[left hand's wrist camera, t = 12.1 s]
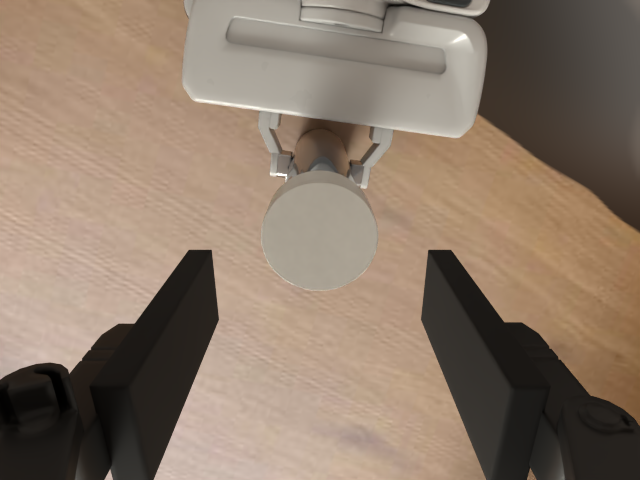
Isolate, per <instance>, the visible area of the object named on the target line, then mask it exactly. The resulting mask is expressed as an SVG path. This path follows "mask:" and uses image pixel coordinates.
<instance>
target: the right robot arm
mask: <svg viewBox="0 0 640 480" xmlns="http://www.w3.org/2000/svg"><path fill="white" fill-rule="evenodd" d="M489 2H490V0H184V9H185V12H186V15H187V17H188V19H189V22H188V27H187V33H186V39H185V47H184V56H183V67H182V85H183V87H184V89H185V90H186V92H187V93H188V95H189V96H190V98H191V99H192V100H193V101H196V102H202V103H209V104H216V105H223V106H230V107H237V108H245V109H252V110H259V123H258V128H259V130H260V132H261V134H262V137H263V139H264V141H265V143H266V145H267V147H268V150H269V152H270V153H272V154H271V165H270V176H274V177H283V178H286V175H287V172H288V169H289V166H290V163H291V160H292V154H293V152H291V151H285V150H282V147H281V145H280V143H279V140H278V138H277V135H276V133H275V131H274V129H277V128H278V127H279V126H280V123H281V114H287V115H294V116H301V117H308V118H316V119H323V120H330V121H337V122H344V123H351V124H358V125H365V126H371V127H370V134H369V138H370V139H371V140H372V142H373V145H372V146H371V147H370V149H369V150H368V151H367V152H366V154H365V155H364V156H363V157H362V159H361V161H359V160H350V166H351V170H352V173H353V176H354V179H355V182H356V185H357V186H358V187H360V188H365V189H366V188H367V186H368V181H369V175H370V170H371V167H373V166H374V165H375V163H376V162H377V161H378V160H379V159H380V158H381V156H382V155H383V154H384V153H385V152H386V151H387V149H388V148H389V147H390V146H391V141H392V136H393V131H394V130H401V131H408V132H415V133H422V134H429V135H436V136H443V137H451V138H460V137H461V136H462V135H464V134H465V133H466V132H467V131H468V130H469V129H470V128H471V127H472V126H473V124H474V122H475V119H476V116H477V112H478V108H479V103H480V99H481V94H482V88H483V82H484V76H485V69H486V61H487V40H486V36H485V33H484V31H483V29H482V27H481V26H480V25H479V24H478V23H477V22H476V21H475V20H473V18H475V17H477V16H479V15H480V14H482V13H483V12H484V11H485V10H486V9H487V7H488V5H489Z"/></svg>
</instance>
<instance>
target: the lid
mask: <svg viewBox="0 0 640 480" xmlns="http://www.w3.org/2000/svg"><path fill="white" fill-rule="evenodd" d="M261 243H262V248H263V252H264V255H265V257H266V259H267V261H268V263H269V265H270V266H271V267H272V269H273V270H274V271H275V272H276V273H277V274H278V275H279V276H280V277H281V278H283V279H284V280H286V281H287V282H289V283H290V284H293V285H295V286H297V287H300V288H303V289H308V290H315V291H326V290H332V289H336V288H340V287H342V286H345V285H347V284H349V283H350V282H352V281H354V280H355V279H356V278H358V277H359V276H360V275H361V274H362V273H363V272H364V271H365V270H366V269H367V268H368V266H369V265H370V263H371V262H372V260H373V257H374V255H375V252H376V249H377V244H378V228H377V223H376V220H375V217H374V214H373V211H372V209H371V206H370V204H369V201H368V199H367V197H366V196H365V194H364V192H363V191H362V190H361V189H360V187H358V186H357V185H356V184H355V183H354V182H353V181H351V180H350V179H349V178H347V177H345V176H343V175H340V174H338V173H335V172H330V171H322V170H320V171H309V172H305V173H302V174H299V175H297V176H294V177H293V178H291V179H289V180H288V181H286V182H285V183H284V184H283V185H282V186H281V187H280V188H279V189H278V190H277V192H276V193H275V194H274V196H273V198H272V200H271V202H270V204H269V207H268V209H267V212H266V215H265V217H264V220H263V223H262V229H261Z"/></svg>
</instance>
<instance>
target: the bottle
mask: <svg viewBox="0 0 640 480" xmlns="http://www.w3.org/2000/svg"><path fill="white" fill-rule="evenodd" d="M320 170H322V171H330V172H335V173H338V174H340V175H343V176H345V177H347V178H349V179H350V180H351V181H353V182H354V183H355V184H356V182H355V179H354V176H353V173H352V170H351V166H350V163H349V160H348V157H347V154H346V151H345V147H344V145H343V142H342V141H341V139H340V138H339V137H338V136H337V135H336V134H335V133H333V132H331V131H329V130H326V129H314V130H311V131H309V132H307V133H305V134H304V135H303V136H302V137H301V138H300V139H299V141H298V143H297V145H296V148H295V151H294V154H293V157H292V160H291V163H290V166H289V169H288V172H287V175H286V178H285V181H284V183H285V182H286V181H288V180H289V179H291V178H293V177H294V176H297V175H299V174H302V173H305V172H309V171H320Z"/></svg>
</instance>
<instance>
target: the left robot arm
mask: <svg viewBox="0 0 640 480" xmlns="http://www.w3.org/2000/svg"><path fill="white" fill-rule="evenodd" d="M218 320H219V316H218V307H217V297H216V288H215V278H214V268H213V259H212V250H189V251H188V252H187V253H186V255H185V256H184V257H183V259H182V260H181V262H180V263H179V264H178V266H177V267H176V268H175V270H174V271H173V272H172V274H171V275H170V276H169V278H168V279H167V281H166V282H165V283H164V285H163V286H162V287H161V289H160V290H159V291H158V293H157V294H156V296H155V297H154V298H153V300H152V301H151V302H150V304H149V305H148V306H147V308H146V309H145V311H144V312H143V313H142V315H141V316H140V317H139V319H138V320H137V321H136V323H135V324H118V325H116V326H114V327H113V328H111V329H110V330H108V331H107V332H105V333H104V334H102V335H101V336H100V338H99V339H98V340H97V341H96V342H95V344H94V345H93V346H92V347H91V350H89V351H88V352H87V353H86V355H85V356H84V357H83V358H82V361H80V362H79V363H78V364H77V365H76V367H75V368H74V369H73V370H72V371H71V373H70V374H69V372H68V369H67V368H65V367H64V366H63V365H61V364H55V363H42V364H35V365H32V366H28V367H25V368H21V369H19V370H17V371H15V372H13V373H11V374H9V375H7V376H5V377H4V378H2V379H1V380H0V480H104V479H105V477H106V476H107V474H108V472H109V470H110V469H111V473H112V477H113V480H154V477H155V475H156V472H157V470H158V468H159V465H160V463H161V460H162V458H163V455H164V453H165V450H166V448H167V445H168V443H169V441H170V438H171V436H172V433H173V431H174V428H175V426H176V423H177V421H178V418H179V416H180V414H181V411H182V409H183V406H184V404H185V401H186V399H187V396H188V394H189V392H190V389H191V387H192V384H193V382H194V379H195V377H196V374H197V372H198V369H199V367H200V365H201V362H202V360H203V357H204V355H205V352H206V350H207V347H208V345H209V343H210V340H211V338H212V335H213V333H214V330H215V328H216V325H217V323H218ZM421 320H422V323H423V325H424V328H425V330H426V333H427V335H428V338H429V340H430V343H431V345H432V347H433V350H434V352H435V355H436V357H437V360H438V362H439V365H440V367H441V369H442V372H443V374H444V377H445V379H446V382H447V384H448V387H449V389H450V392H451V394H452V396H453V399H454V401H455V404H456V406H457V409H458V411H459V414H460V416H461V418H462V421H463V423H464V426H465V428H466V431H467V433H468V436H469V438H470V441H471V443H472V445H473V448H474V450H475V453H476V455H477V458H478V460H479V463H480V465H481V468H482V470H483V472H484V475H485V477H486V480H527V477H528V473H529V469H530V468H531V470H532V472H533V473H534V475H535V477H536V479H537V480H640V426H639V425H638V423H637V422H636V420H635V419H634V418H633V417H632V416H631V415H629V414H628V413H627V412H626V411H625V410H623V409H622V408H620V407H618V406H616V405H614V404H613V403H611V402H609V401H606V400H603V399H600V398H597V397H594V396H590V395H589V393H588V392H587V391H586V390H585V389H584V387H583V386H582V385H581V384H580V383H579V381H578V380H577V379H576V378H575V377H574V375H573V374H572V373H571V372H570V371H569V369H568V368H567V367H566V366H565V365H564V363H563V362H562V361H561V360H558V356H557V355H556V354H555V353H554V352H553V350H552V349H549V346H548V344H547V343H546V342H545V341H544V340H543V338H542V337H541V336H540V335H539V334H538V333H537V332H535V331H534V330H532V329H531V328H529V327H528V326H526V325H525V324H523V323H504V321H503V320H502V319H501V317H500V316H499V315H498V313H497V312H496V311H495V309H494V308H493V306H492V305H491V304H490V302H489V301H488V300H487V298H486V297H485V296H484V294H483V293H482V291H481V290H480V289H479V287H478V286H477V285H476V283H475V282H474V281H473V279H472V278H471V277H470V275H469V274H468V272H467V271H466V270H465V268H464V267H463V266H462V264H461V263H460V262H459V260H458V259H457V257H456V256H455V255H454V253H453V252H452V251H451V250H428V259H427V268H426V278H425V288H424V297H423V307H422V316H421Z"/></svg>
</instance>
